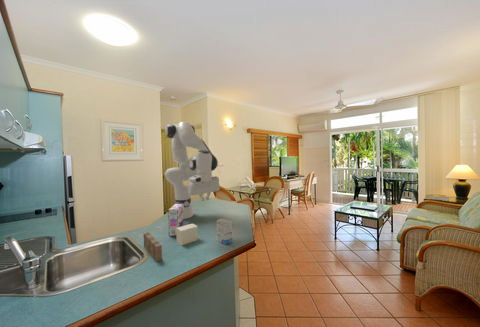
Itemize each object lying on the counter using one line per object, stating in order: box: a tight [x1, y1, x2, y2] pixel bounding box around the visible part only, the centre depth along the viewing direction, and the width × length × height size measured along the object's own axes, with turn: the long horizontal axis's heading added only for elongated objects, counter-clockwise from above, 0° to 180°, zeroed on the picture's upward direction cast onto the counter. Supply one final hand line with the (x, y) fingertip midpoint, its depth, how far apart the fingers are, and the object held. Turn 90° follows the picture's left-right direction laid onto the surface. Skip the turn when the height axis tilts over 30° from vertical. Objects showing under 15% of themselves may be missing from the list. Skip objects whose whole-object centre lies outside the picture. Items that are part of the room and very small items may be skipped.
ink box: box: [216, 218, 233, 246], centre depth 108 cm, size 9×5×12 cm, turn 44°
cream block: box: [176, 223, 199, 246], centre depth 110 cm, size 6×10×8 cm, turn 132°
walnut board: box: [143, 232, 163, 262], centre depth 97 cm, size 20×2×7 cm, turn 42°
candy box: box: [167, 203, 186, 237], centre depth 122 cm, size 14×6×16 cm, turn 0°
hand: (204, 200), depth 117 cm, fingers closed
